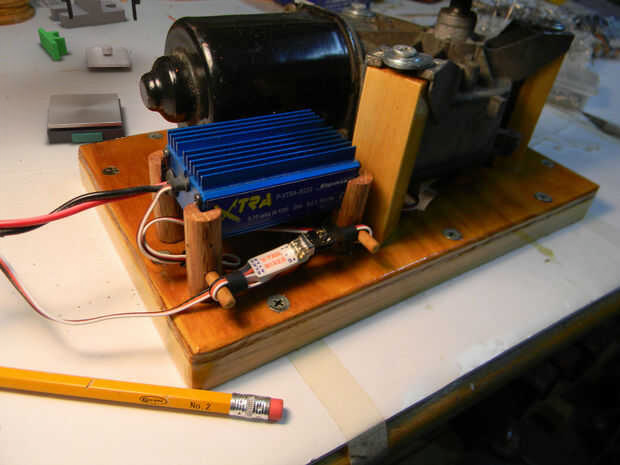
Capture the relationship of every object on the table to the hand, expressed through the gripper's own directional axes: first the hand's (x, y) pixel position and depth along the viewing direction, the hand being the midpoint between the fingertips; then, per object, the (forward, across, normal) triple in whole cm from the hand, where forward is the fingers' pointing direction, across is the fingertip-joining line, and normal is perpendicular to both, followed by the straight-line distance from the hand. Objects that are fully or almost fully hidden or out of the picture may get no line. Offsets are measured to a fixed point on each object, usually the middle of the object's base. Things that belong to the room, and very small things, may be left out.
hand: (103, 18), depth 109 cm
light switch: (+12, 0, 0) cm, 12 cm away
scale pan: (+8, -5, -30) cm, 31 cm away
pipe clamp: (+11, -12, +8) cm, 19 cm away
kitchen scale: (+11, -5, -30) cm, 32 cm away
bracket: (+12, -4, +33) cm, 35 cm away
